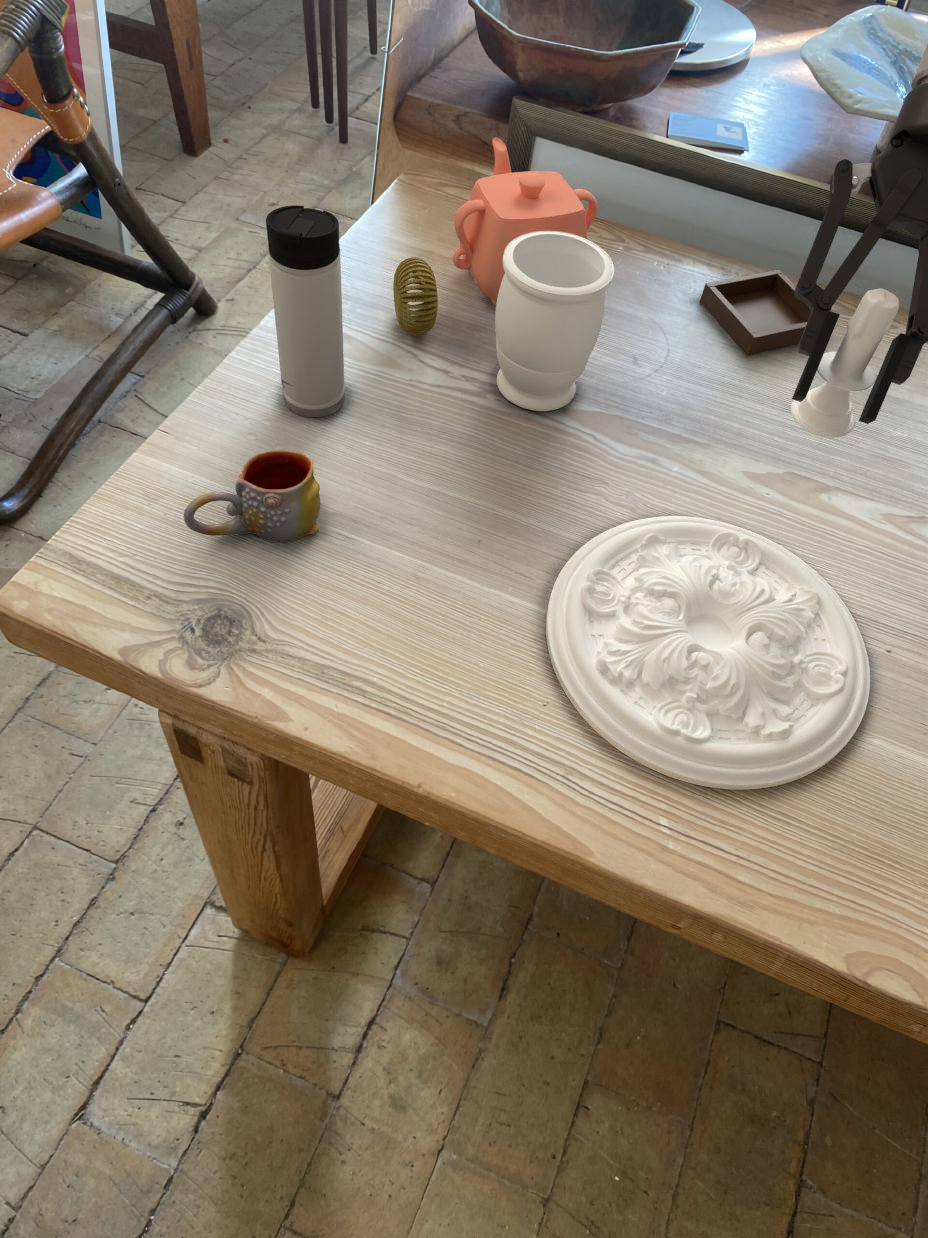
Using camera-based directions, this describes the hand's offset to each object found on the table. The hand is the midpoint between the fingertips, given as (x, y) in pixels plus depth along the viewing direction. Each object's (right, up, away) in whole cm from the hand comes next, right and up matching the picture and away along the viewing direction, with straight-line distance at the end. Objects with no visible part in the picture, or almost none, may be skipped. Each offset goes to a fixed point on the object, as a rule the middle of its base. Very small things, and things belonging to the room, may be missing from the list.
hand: (832, 408), depth 71 cm
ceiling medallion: (-8, -18, +9) cm, 22 cm away
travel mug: (-44, +6, +23) cm, 50 cm away
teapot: (-22, +24, +38) cm, 50 cm away
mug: (-48, -8, +12) cm, 50 cm away
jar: (-21, +8, +27) cm, 35 cm away
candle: (+1, 0, +5) cm, 6 cm away
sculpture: (-34, +16, +31) cm, 49 cm away
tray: (+6, +19, +37) cm, 42 cm away
